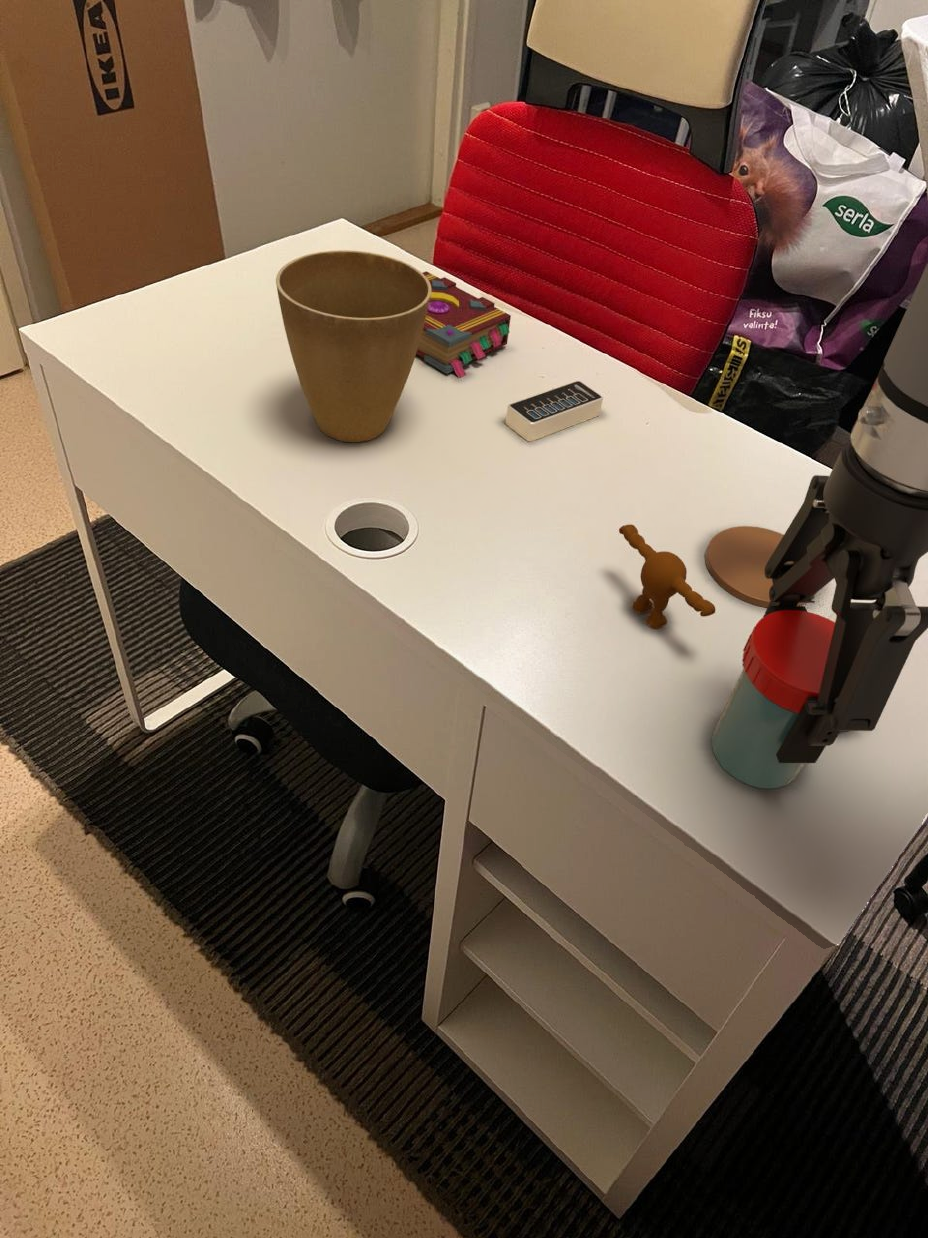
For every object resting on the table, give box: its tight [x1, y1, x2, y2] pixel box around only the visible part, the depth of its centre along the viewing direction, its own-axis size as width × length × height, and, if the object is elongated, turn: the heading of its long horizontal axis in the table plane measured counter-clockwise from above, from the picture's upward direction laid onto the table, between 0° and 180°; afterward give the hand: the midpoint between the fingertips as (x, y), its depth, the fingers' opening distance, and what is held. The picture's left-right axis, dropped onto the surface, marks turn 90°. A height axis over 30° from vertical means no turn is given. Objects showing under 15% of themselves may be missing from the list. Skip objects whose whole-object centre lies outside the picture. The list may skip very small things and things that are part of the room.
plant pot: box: [275, 249, 432, 443], centre depth 92 cm, size 15×15×16 cm
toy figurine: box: [618, 524, 716, 629], centre depth 79 cm, size 12×4×7 cm, turn 29°
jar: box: [711, 668, 805, 790], centre depth 67 cm, size 7×7×11 cm
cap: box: [741, 610, 835, 713], centre depth 64 cm, size 8×8×2 cm
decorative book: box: [416, 270, 512, 379], centre depth 111 cm, size 11×16×5 cm
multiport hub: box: [505, 380, 604, 442], centre depth 102 cm, size 4×11×2 cm, turn 127°
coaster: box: [704, 525, 817, 608], centre depth 87 cm, size 11×11×1 cm
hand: (777, 711), depth 68 cm, fingers closed on cap, 8 cm apart
